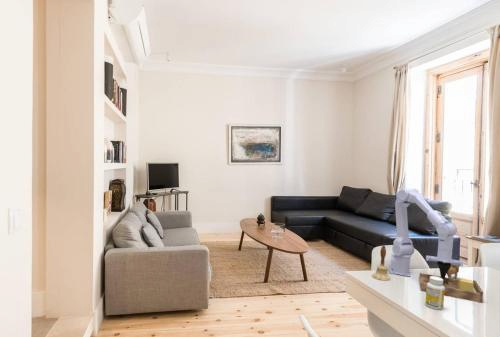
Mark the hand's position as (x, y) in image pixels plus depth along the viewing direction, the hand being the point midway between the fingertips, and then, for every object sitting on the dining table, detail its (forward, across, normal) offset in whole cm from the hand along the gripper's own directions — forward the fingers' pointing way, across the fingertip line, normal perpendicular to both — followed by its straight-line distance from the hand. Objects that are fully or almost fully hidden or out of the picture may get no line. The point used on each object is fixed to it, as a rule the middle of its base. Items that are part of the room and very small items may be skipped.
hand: (442, 278), depth 151 cm
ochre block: (+3, +9, 0) cm, 9 cm away
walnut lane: (+5, +2, 0) cm, 5 cm away
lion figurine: (+5, +5, +18) cm, 19 cm away
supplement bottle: (+5, -5, -24) cm, 25 cm away
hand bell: (+5, -26, 0) cm, 26 cm away
